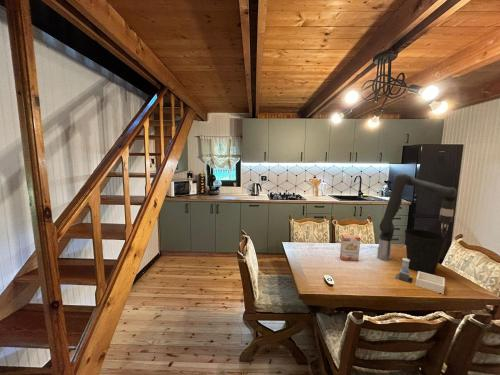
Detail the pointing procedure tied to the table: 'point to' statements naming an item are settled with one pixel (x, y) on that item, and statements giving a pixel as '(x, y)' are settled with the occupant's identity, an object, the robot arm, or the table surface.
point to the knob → (404, 270)
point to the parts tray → (430, 282)
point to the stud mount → (404, 280)
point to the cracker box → (350, 247)
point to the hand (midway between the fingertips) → (442, 236)
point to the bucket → (424, 250)
